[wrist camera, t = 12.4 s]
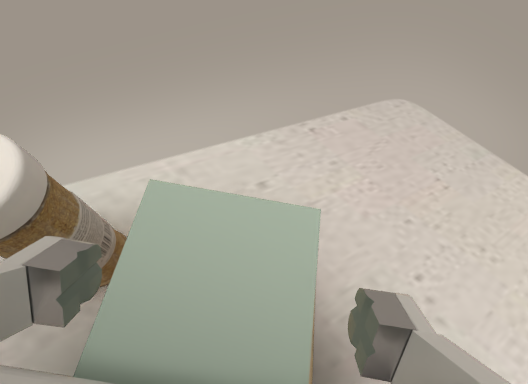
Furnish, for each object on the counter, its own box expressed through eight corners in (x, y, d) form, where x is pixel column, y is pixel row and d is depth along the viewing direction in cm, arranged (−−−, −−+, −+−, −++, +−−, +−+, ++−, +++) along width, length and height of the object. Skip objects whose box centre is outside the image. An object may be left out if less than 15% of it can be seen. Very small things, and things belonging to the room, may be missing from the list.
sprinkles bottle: (87, 226, 24) (-67, 115, 12) (141, 236, 24) (42, 136, 12) (60, 282, 22) (-159, 218, 10) (119, 294, 22) (-28, 244, 10)
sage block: (160, 358, 13) (69, 384, 6) (190, 251, 15) (150, 179, 8) (268, 376, 13) (306, 425, 6) (282, 268, 15) (320, 209, 8)
